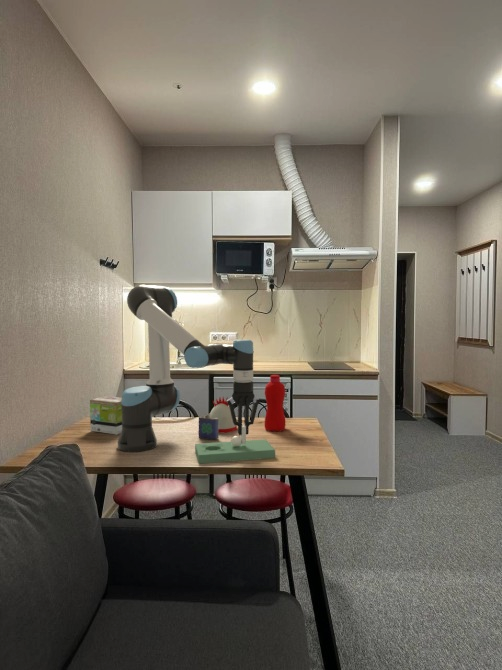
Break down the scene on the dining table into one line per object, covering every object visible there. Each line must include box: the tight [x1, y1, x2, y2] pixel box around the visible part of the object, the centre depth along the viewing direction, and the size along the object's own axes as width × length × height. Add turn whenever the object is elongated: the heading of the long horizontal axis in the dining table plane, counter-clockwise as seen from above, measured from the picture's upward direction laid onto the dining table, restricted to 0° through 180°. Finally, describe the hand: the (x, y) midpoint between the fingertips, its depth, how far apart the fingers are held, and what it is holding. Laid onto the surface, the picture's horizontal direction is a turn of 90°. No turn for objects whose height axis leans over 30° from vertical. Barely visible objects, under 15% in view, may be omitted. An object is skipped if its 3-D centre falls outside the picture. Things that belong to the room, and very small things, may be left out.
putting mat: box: [194, 438, 276, 464], centre depth 166 cm, size 28×14×3 cm, turn 102°
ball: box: [230, 435, 241, 447], centre depth 166 cm, size 4×4×4 cm
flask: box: [198, 413, 219, 441], centre depth 188 cm, size 9×3×11 cm, turn 68°
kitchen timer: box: [209, 396, 238, 434], centre depth 204 cm, size 14×14×15 cm
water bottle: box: [264, 374, 286, 432], centre depth 203 cm, size 9×11×25 cm
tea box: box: [89, 395, 122, 436], centre depth 201 cm, size 15×10×15 cm, turn 68°
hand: (243, 442), depth 167 cm, fingers closed
